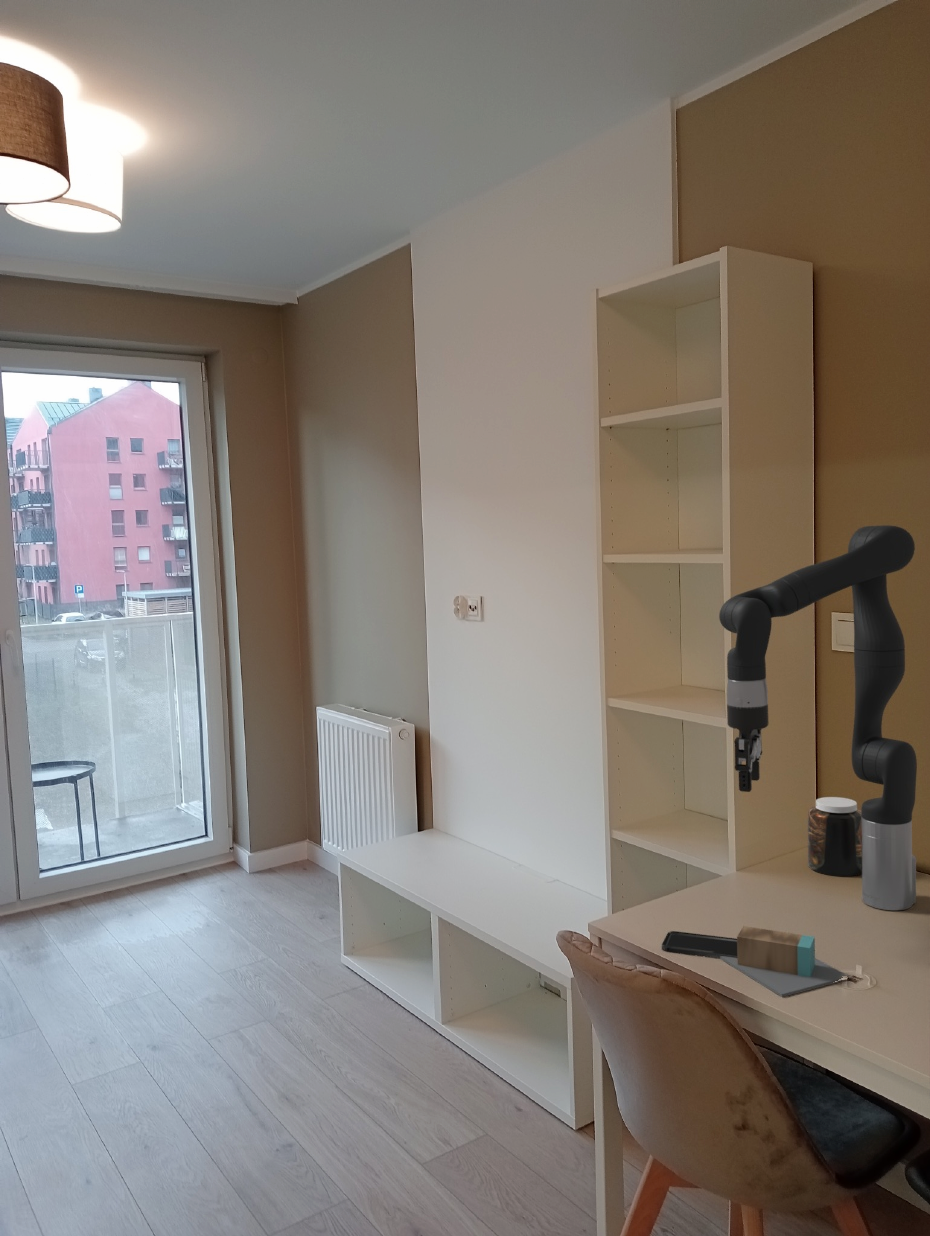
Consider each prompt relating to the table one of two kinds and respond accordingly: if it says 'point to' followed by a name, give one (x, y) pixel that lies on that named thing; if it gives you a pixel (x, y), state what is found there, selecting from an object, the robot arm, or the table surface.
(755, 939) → the walnut block
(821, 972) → the grey mat
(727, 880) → the table surface
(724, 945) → the phone
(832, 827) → the jar
